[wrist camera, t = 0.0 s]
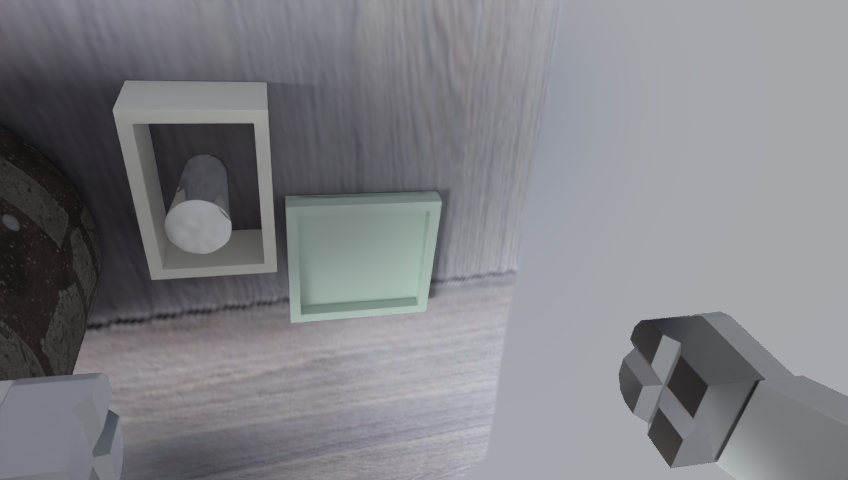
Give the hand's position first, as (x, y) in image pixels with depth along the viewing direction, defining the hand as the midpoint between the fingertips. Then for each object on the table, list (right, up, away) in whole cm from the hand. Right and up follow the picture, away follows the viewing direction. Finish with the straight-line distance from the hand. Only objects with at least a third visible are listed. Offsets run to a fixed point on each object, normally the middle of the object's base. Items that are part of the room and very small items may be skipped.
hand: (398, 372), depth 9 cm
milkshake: (-17, +8, +39) cm, 44 cm away
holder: (-17, +8, +39) cm, 44 cm away
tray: (-6, +1, +48) cm, 49 cm away
